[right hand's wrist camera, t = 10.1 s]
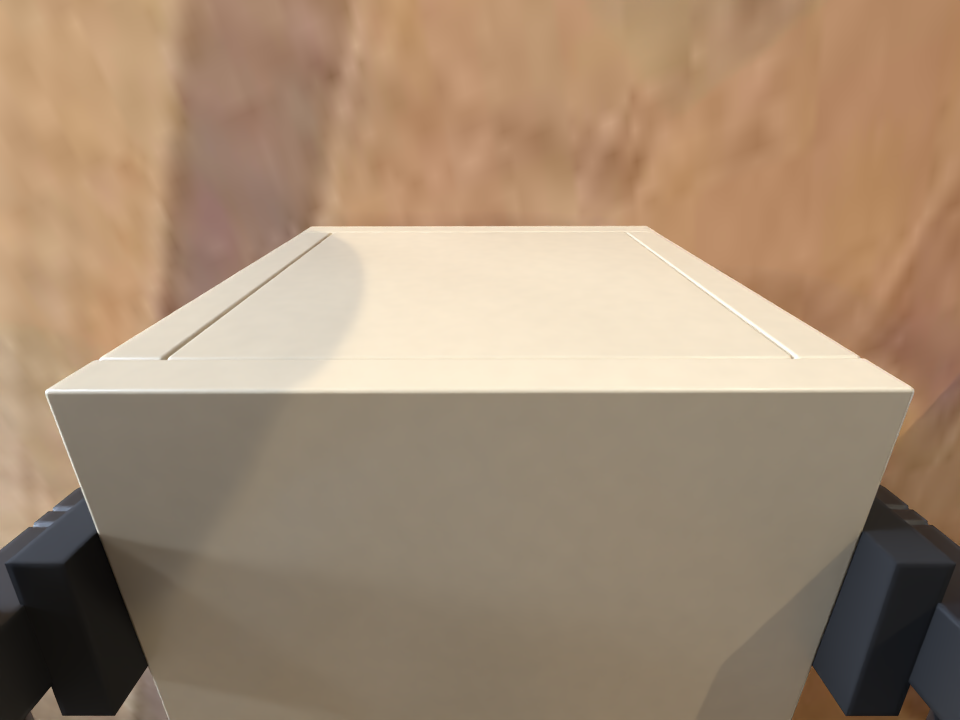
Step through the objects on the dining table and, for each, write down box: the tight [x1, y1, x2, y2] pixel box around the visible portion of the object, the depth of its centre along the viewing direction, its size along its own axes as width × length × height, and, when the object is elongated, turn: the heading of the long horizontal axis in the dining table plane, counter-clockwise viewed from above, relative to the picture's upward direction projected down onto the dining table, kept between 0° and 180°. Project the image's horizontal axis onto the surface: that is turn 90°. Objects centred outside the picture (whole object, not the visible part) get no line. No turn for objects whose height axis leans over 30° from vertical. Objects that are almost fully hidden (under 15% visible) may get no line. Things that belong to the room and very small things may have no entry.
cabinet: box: [45, 226, 914, 720], centre depth 16 cm, size 22×10×11 cm, turn 0°
